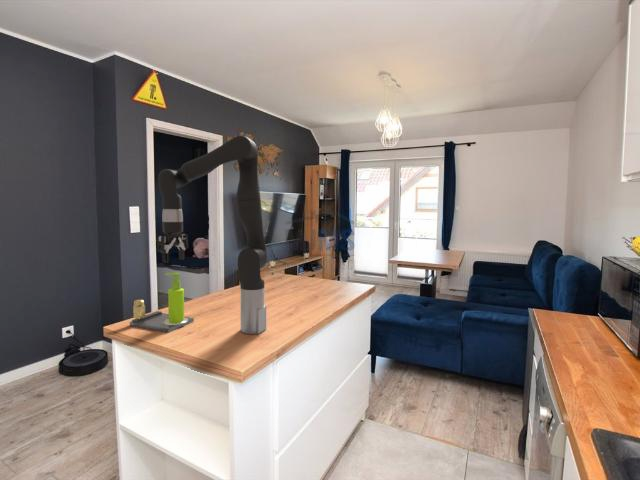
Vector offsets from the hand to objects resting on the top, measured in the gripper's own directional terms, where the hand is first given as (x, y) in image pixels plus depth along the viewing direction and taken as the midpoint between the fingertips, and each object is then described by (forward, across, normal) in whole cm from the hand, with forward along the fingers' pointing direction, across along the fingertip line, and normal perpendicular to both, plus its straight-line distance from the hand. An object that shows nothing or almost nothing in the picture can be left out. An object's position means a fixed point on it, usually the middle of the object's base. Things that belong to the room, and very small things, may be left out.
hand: (173, 260), depth 138 cm
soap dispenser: (+25, 0, 0) cm, 25 cm away
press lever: (+24, -5, +14) cm, 28 cm away
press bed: (+26, -1, +6) cm, 27 cm away
